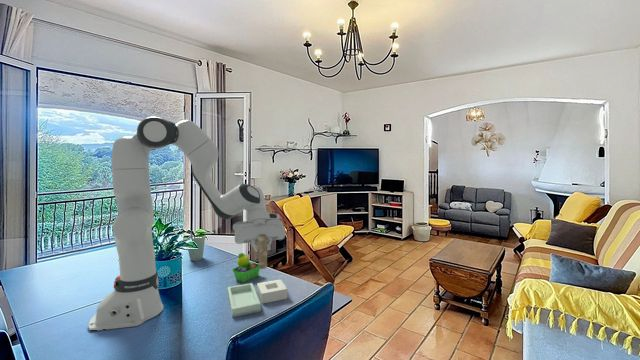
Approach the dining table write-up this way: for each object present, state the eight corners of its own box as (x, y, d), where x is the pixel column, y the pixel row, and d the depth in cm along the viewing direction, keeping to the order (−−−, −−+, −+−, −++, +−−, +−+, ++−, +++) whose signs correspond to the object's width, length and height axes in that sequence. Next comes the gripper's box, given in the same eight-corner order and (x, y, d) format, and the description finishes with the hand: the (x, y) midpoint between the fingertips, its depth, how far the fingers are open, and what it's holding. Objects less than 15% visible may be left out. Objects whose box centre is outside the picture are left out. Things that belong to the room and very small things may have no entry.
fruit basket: (242, 284, 132) (241, 259, 132) (230, 279, 138) (229, 255, 137) (262, 275, 142) (261, 252, 141) (249, 271, 147) (248, 248, 146)
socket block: (262, 303, 114) (261, 293, 114) (257, 292, 124) (257, 283, 123) (287, 298, 118) (287, 288, 118) (281, 288, 127) (280, 279, 127)
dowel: (259, 269, 116) (259, 236, 115) (258, 266, 119) (257, 234, 118) (267, 268, 118) (267, 235, 116) (266, 265, 120) (265, 233, 119)
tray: (232, 317, 105) (231, 309, 105) (227, 294, 123) (227, 287, 123) (260, 311, 109) (260, 303, 109) (252, 289, 126) (252, 282, 126)
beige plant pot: (203, 254, 173) (202, 229, 172) (209, 259, 165) (208, 232, 164) (183, 258, 167) (182, 232, 166) (189, 263, 158) (187, 236, 157)
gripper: (232, 218, 119) (235, 249, 111) (282, 214, 127) (289, 243, 119) (231, 226, 124) (235, 257, 116) (280, 222, 131) (286, 250, 123)
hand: (262, 250), depth 117 cm, fingers closed on dowel, 3 cm apart
